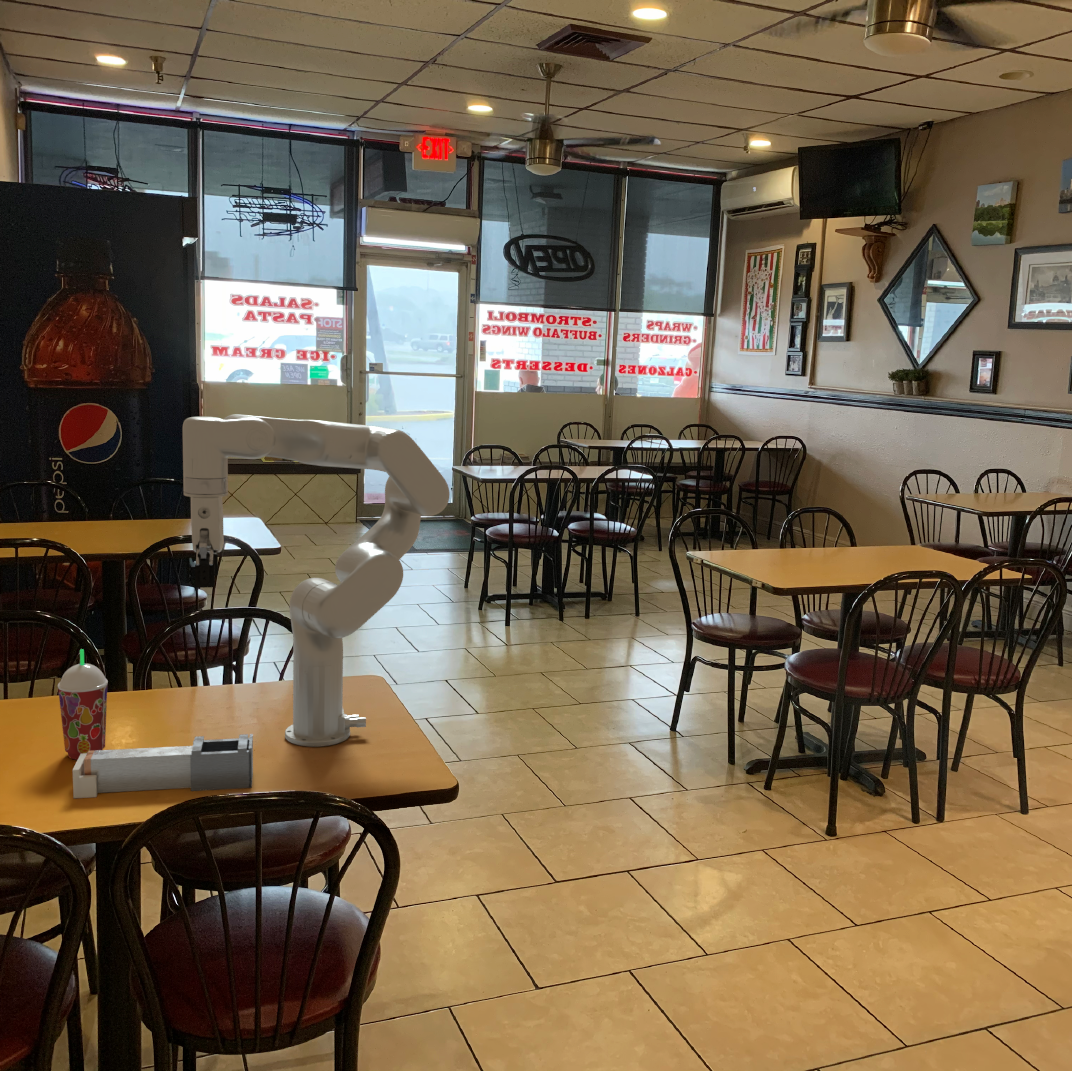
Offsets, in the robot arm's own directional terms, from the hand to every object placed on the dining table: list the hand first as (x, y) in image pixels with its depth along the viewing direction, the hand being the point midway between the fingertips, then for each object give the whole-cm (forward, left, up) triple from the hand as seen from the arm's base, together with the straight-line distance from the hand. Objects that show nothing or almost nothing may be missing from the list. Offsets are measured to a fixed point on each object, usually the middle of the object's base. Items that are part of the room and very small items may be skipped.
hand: (207, 581), depth 184 cm
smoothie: (+22, -4, -34) cm, 40 cm away
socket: (+19, +12, -33) cm, 40 cm away
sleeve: (-3, +12, -33) cm, 36 cm away
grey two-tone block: (+10, +12, -33) cm, 37 cm away
